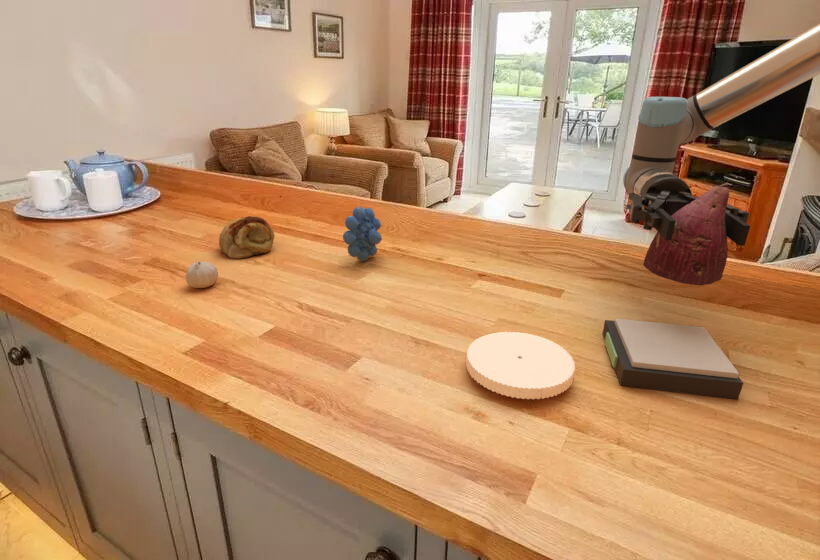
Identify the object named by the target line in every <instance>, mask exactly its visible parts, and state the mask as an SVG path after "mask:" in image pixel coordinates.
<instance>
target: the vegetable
mask: <svg viewBox="0 0 820 560" xmlns="http://www.w3.org/2000/svg"><path fill="white" fill-rule="evenodd" d="M697 197H698V198H697V199H695V200H694V201H692V202H691V203H689V204H687V205H686V206H684V207H683V208H681V209H680V210H678V211H677V212H676V213H674V214H673V215H672V216H671V217H672V218H673V219H674V220H675V221H676V222H675V226H674V231H673V235H672V239H671V240H665V239H664V238H663V237H662V236H661V235H660V233H659V232H658V231H657V232H656V233H655V235H654V236H653V239H652V240H651V242H650V244H649V247H648V249H647V251H646V253H645V257H644V259H643V260H644V261H643V264H642V265H643V267H644V268H645V269H646V270H648V272H650V273H652V274H654V275H656V276H657V277H660V278H663V279H666V280H670V281H672V282H676V283H680V284H684V285H685V284H686V285H691V286H706V285H711V284H714V283H717V282H719V281H721V280H722V278H723V276H724V275H723V274H724V271H725V268H726V265H727V261H728V254H729V253H728V252H729V249H728V237H727V233H726V227H725V211H726V206H727V204H728V203H729V197H730V188H729V182H725V183H722V184H719V185H717V186H714V187H712V188H710V189H709V190H707V191H705V192H704V193H703V194H701V195H700V196H697Z"/></svg>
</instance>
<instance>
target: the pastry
mask: <svg viewBox="0 0 820 560" xmlns="http://www.w3.org/2000/svg"><path fill="white" fill-rule="evenodd" d="M221 230H222V231H220V233H219V237H218V246H219V250H220V251H221V252H222V253H223V254H225V255H226V256H227V257H228V258H229V259H234V260H239V259H247V258H251V257H253V256H255V255H261V254H266V253H268V252H271V250H272V247H273V244H274V239H275V232H274V230H273V228H272V227H271V225H270V224H269V223H268V221H267V220H266V219H264V218H262V217H259V216H250V215H248V216H241V217H238V218H234V219H232V220H230V221H228V222H227V223H226V224H225V225H224V227H223V228H222V229H221Z"/></svg>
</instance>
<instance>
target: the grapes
mask: <svg viewBox="0 0 820 560" xmlns="http://www.w3.org/2000/svg"><path fill="white" fill-rule="evenodd" d="M344 225H345V227H346V229H347V230H346V231H345V232H344V233H343V235H342V240H343V242H344V243H345V244H346V245H348V246H347V253H348V254H349V256H350V257H353V258H357V259H358V261H360V262H365V261H367V260H368V259H369V257H373V256H375V255H376V254H377V253H378V248H377V247H378V246H377V245H378V244H380V243H381V242H382V241H383V236H382V235H381V233H380V232H379V230H380V229H381V227H382V223H381V220H380V219H379V218H377V216H376V214H375V211H374V210H373V209H372V208H371V207H365V208H363V207H361V206H356V207H355V208H353V210H352V215H349V216H347V217H346V218H345V220H344Z"/></svg>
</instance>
